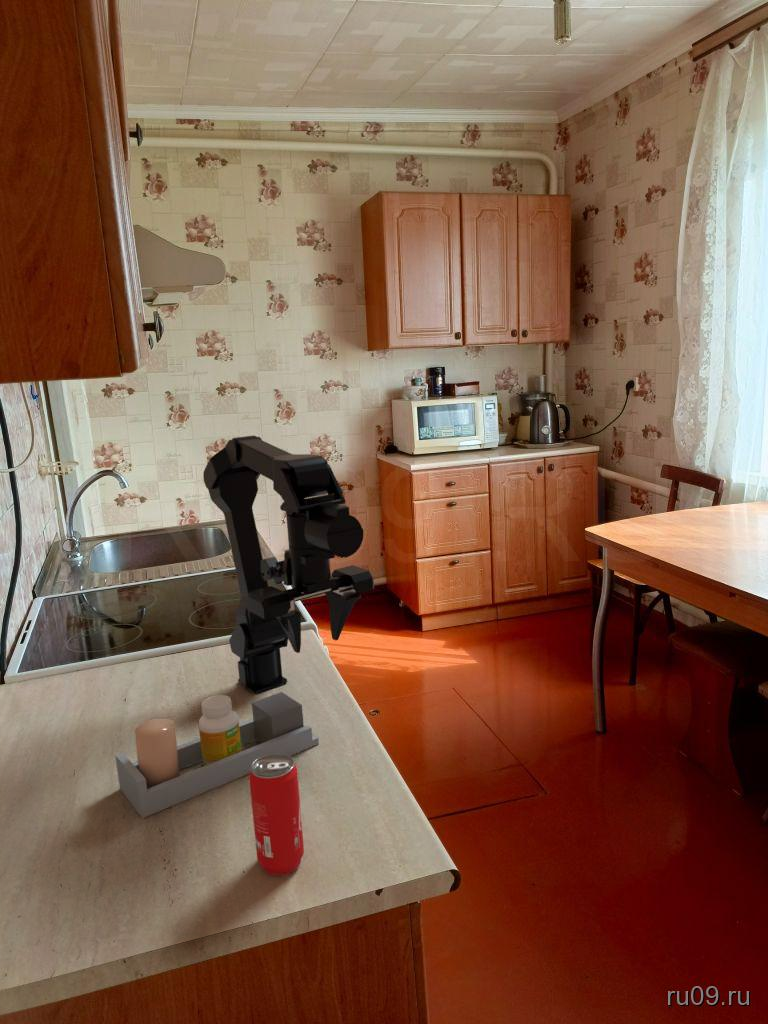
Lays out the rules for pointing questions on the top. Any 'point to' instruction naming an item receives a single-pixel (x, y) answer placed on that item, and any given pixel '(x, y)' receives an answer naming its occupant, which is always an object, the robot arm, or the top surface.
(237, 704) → the top surface
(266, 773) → the beverage can
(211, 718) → the supplement bottle
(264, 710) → the block
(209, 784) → the tray
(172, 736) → the jar
